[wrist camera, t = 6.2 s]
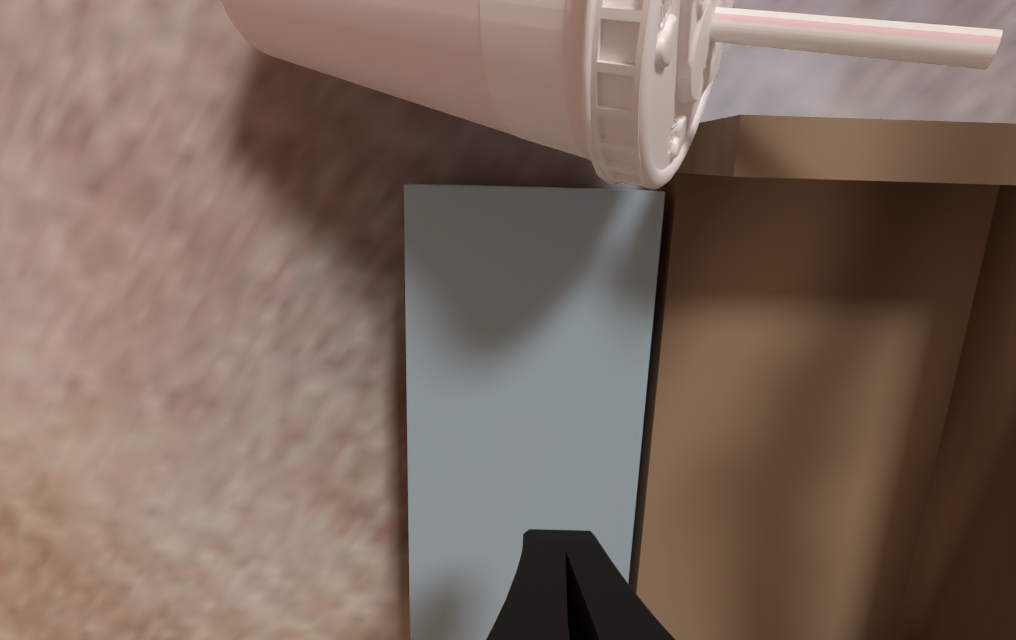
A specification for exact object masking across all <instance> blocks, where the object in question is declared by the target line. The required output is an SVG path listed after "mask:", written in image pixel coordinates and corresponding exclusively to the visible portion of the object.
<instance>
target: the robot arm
mask: <svg viewBox="0 0 1016 640" xmlns="http://www.w3.org/2000/svg"><path fill="white" fill-rule="evenodd" d="M486 640H675V639H674V638H673V637H672V635H671V634H670V633H669V632H668V631H667V630H666V629H665V628H664V627H663V625H662V624H661V623H660V622H659V621H658V620H657V619H656V617H655V616H654V615H653V614H652V613H651V612H650V610H649V609H648V608H647V607H646V606H645V604H644V603H643V602H642V600H641V599H640V598H639V597H638V595H637V594H636V593H635V592H634V590H633V589H632V588H631V587H630V585H629V584H628V583H627V581H626V580H625V579H624V577H623V576H622V575H621V573H620V572H619V570H618V569H617V568H616V566H615V565H614V563H613V562H612V561H611V559H610V558H609V556H608V555H607V553H606V552H605V550H604V549H603V547H602V546H601V544H600V543H599V541H598V540H597V538H596V536H595V535H594V534H593V533H592V532H591V531H584V530H543V529H529V530H528V531H526V532H525V533H524V534H523V547H522V553H521V557H520V561H519V564H518V567H517V571H516V574H515V576H514V579H513V582H512V584H511V587H510V590H509V592H508V595H507V597H506V600H505V602H504V604H503V606H502V608H501V611H500V613H499V615H498V617H497V619H496V621H495V623H494V625H493V627H492V629H491V631H490V633H489V635H488V637H487V639H486Z"/></svg>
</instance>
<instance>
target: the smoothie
mask: <svg viewBox="0 0 1016 640" xmlns="http://www.w3.org/2000/svg"><path fill="white" fill-rule="evenodd" d="M221 1H222V3H223V5H224V8H225V10H226V12H227V14H228V16H229V17H230V19H231V21H232V22H233V24H234V25H235V27H236V28H237V29H238V31H239V32H240V33H241V34H242V36H243V37H244V38H245V39H246V40H247V41H248V42H249V43H250V44H251V45H253V46H254V47H255V48H257V49H258V50H260V51H261V52H263V53H265V54H267V55H269V56H272V57H276V58H279V59H282V60H285V61H288V62H291V63H294V64H297V65H300V66H303V67H306V68H309V69H312V70H315V71H318V72H321V73H324V74H328V75H331V76H334V77H337V78H340V79H343V80H346V81H349V82H352V83H355V84H358V85H361V86H364V87H367V88H370V89H373V90H377V91H380V92H383V93H386V94H389V95H392V96H395V97H398V98H401V99H404V100H407V101H410V102H413V103H416V104H419V105H422V106H425V107H429V108H432V109H435V110H438V111H441V112H444V113H447V114H450V115H453V116H456V117H459V118H462V119H465V120H468V121H471V122H474V123H477V124H481V125H484V126H487V127H490V128H493V129H496V130H499V131H502V132H505V133H508V134H511V135H514V136H517V137H519V138H521V139H524V140H527V141H531V142H534V143H537V144H541V145H544V146H547V147H550V148H554V149H557V150H560V151H563V152H567V153H570V154H573V155H577V156H580V157H583V158H586V159H588V160H591V162H592V164H593V167H594V169H595V171H596V174H597V176H598V177H600V178H601V179H603V180H604V181H605V182H607V183H608V184H610V185H614V184H617V183H626V184H631V185H636V186H641V187H646V188H649V189H654V190H655V189H659V188H661V187H662V186H663V185H665V184H666V183H667V182H668V181H670V180H671V178H672V177H673V176H674V174H675V173H676V171H677V170H678V169H679V167H680V165H681V163H682V161H683V160H684V158H685V156H686V154H687V152H688V150H689V147H690V145H691V143H692V141H693V138H694V136H695V134H696V131H697V128H698V126H699V123H700V120H701V118H702V115H703V112H704V110H705V106H706V103H707V100H708V97H709V94H710V91H711V88H712V85H713V81H714V78H715V75H716V74H717V72H718V71H719V66H720V60H721V55H722V49H723V45H724V43H731V44H741V45H751V46H761V47H771V48H780V49H790V50H800V51H810V52H820V53H830V54H839V55H849V56H859V57H869V58H879V59H889V60H898V61H908V62H918V63H928V64H938V65H948V66H958V67H967V68H977V69H987V68H988V66H989V65H990V63H991V62H992V60H993V58H994V56H995V54H996V51H997V49H998V46H999V44H1000V41H1001V37H1002V30H998V29H985V28H973V27H960V26H948V25H936V24H923V23H911V22H898V21H886V20H873V19H861V18H848V17H836V16H824V15H811V14H799V13H786V12H774V11H761V10H749V9H737V8H733V3H734V0H221Z"/></svg>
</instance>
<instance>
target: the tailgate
mask: <svg viewBox="0 0 1016 640" xmlns="http://www.w3.org/2000/svg"><path fill="white" fill-rule="evenodd" d="M664 200H665V191H657V190H640V189H600V188H561V187H521V186H482V185H443V184H404V241H405V313H406V385H407V456H408V528H409V600H410V640H486V639H487V637H488V635H489V633H490V631H491V629H492V627H493V625H494V623H495V621H496V619H497V617H498V615H499V613H500V611H501V608H502V606H503V604H504V602H505V600H506V597H507V595H508V592H509V590H510V587H511V584H512V582H513V579H514V576H515V574H516V571H517V567H518V564H519V561H520V557H521V553H522V547H523V534H524V533H525V532H526V531H528V530H529V529H543V530H584V531H591V532H592V533H593V534H594V535H595V536H596V538H597V540H598V541H599V543H600V544H601V546H602V547H603V549H604V550H605V552H606V553H607V555H608V556H609V558H610V559H611V561H612V562H613V563H614V565H615V566H616V568H617V569H618V570H619V572H620V573H621V575H622V576H623V577H624V579H625V580H626V581H627V583H628V581H629V570H630V560H631V549H632V539H633V528H634V517H635V507H636V496H637V486H638V475H639V464H640V454H641V443H642V433H643V422H644V411H645V401H646V390H647V380H648V369H649V359H650V348H651V337H652V327H653V316H654V306H655V295H656V284H657V274H658V263H659V253H660V242H661V231H662V221H663V210H664Z"/></svg>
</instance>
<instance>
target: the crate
mask: <svg viewBox="0 0 1016 640" xmlns="http://www.w3.org/2000/svg"><path fill="white" fill-rule="evenodd" d="M629 585H630V587H631V588H632V589H633V590H634V592H635V593H636V594H637V595H638V597H639V598H640V599H641V600H642V602H643V603H644V604H645V606H646V607H647V608H648V609H649V610H650V612H651V613H652V614H653V615H654V616H655V617H656V619H657V620H658V621H659V622H660V623H661V624H662V625H663V627H664V628H665V629H666V630H667V631H668V632H669V633H670V634H671V635H672V637H673V638H674V639H675V640H1016V124H1007V123H976V122H945V121H914V120H883V119H852V118H821V117H790V116H759V115H738V116H732V117H727V118H722V119H717V120H712V121H707V122H702V123H699V126H698V128H697V131H696V134H695V136H694V138H693V141H692V143H691V145H690V147H689V150H688V152H687V154H686V156H685V158H684V160H683V161H682V163H681V165H680V167H679V169H678V170H677V171H676V173H675V174H674V176H673V177H672V178H671V180H670V181H668V182H667V191H666V201H665V212H664V223H663V233H662V244H661V254H660V265H659V275H658V286H657V296H656V307H655V317H654V328H653V338H652V349H651V359H650V370H649V381H648V391H647V402H646V412H645V423H644V433H643V444H642V454H641V465H640V475H639V486H638V496H637V507H636V518H635V528H634V539H633V549H632V560H631V570H630V581H629Z"/></svg>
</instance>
